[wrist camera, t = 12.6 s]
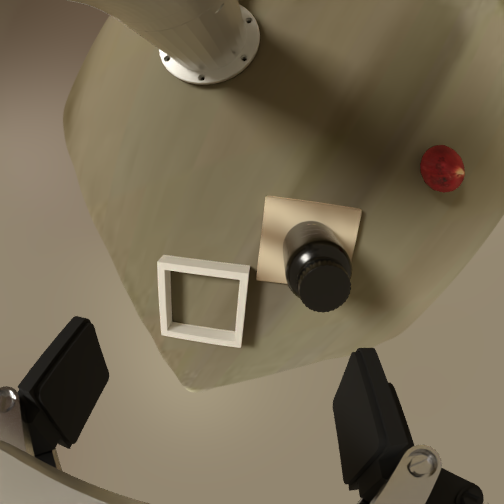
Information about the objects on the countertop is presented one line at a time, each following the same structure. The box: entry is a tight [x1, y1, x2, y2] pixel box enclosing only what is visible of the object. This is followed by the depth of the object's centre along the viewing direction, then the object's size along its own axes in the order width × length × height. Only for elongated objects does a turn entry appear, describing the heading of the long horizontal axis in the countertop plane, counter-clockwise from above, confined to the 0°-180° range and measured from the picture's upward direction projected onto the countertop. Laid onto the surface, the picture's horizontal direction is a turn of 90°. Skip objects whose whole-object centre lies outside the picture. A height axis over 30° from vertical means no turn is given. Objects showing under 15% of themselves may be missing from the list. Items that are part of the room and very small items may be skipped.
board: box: [256, 196, 362, 284], centre depth 37 cm, size 11×12×1 cm
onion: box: [420, 145, 465, 193], centre depth 28 cm, size 6×6×8 cm
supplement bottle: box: [283, 221, 352, 312], centre depth 31 cm, size 7×7×12 cm
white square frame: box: [157, 255, 250, 348], centre depth 40 cm, size 12×12×2 cm
